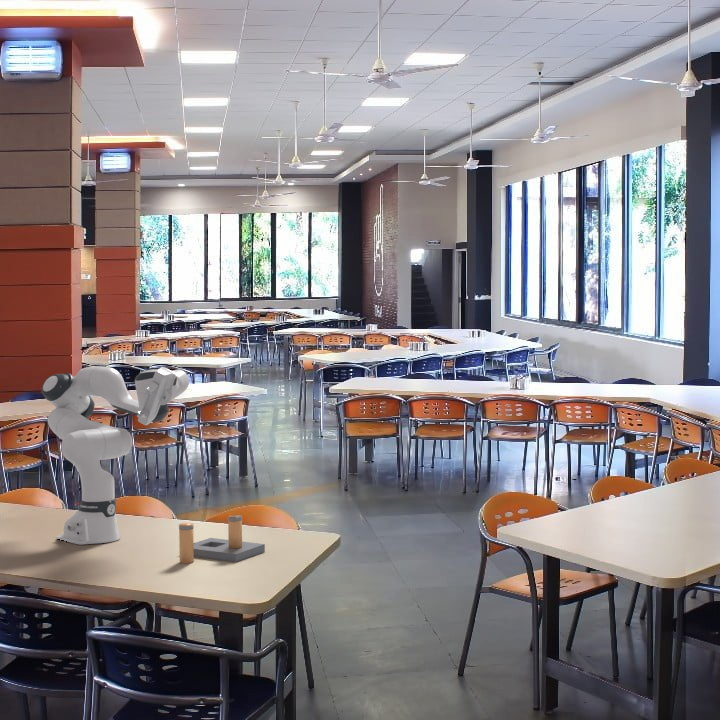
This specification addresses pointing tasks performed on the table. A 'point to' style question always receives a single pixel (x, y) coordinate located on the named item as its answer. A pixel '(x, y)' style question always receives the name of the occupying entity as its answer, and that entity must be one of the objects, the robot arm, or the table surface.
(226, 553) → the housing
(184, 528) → the orange banded cylinder
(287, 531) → the table surface
